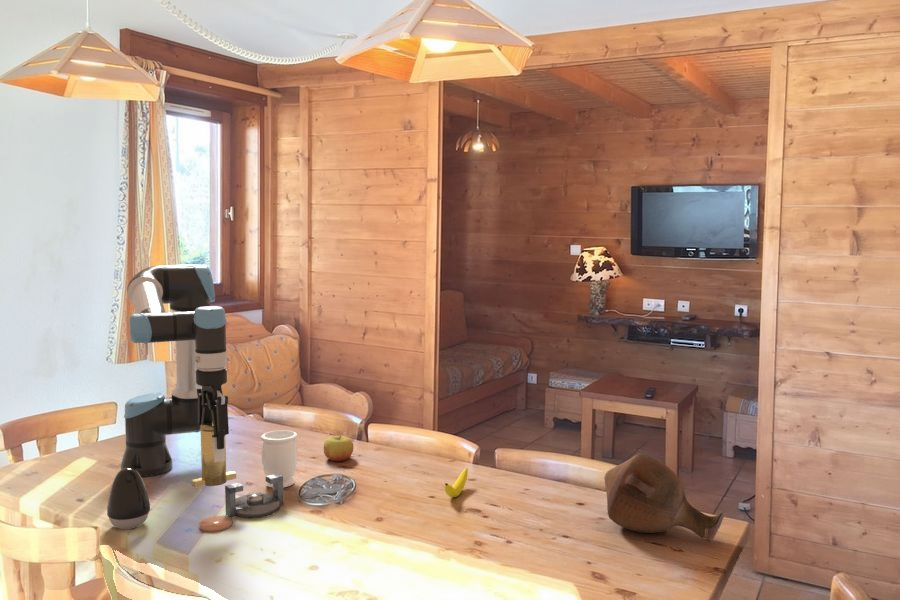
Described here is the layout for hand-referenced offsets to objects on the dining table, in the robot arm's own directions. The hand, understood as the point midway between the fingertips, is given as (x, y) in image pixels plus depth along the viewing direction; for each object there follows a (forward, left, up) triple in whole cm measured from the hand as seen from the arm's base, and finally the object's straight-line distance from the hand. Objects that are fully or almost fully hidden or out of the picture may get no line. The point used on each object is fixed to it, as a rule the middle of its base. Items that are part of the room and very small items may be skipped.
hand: (213, 457), depth 199 cm
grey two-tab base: (-4, +13, -18) cm, 23 cm away
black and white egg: (-14, -17, -18) cm, 29 cm away
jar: (-18, +28, -18) cm, 38 cm away
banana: (+22, +63, -18) cm, 69 cm away
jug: (+76, +85, -18) cm, 115 cm away
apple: (-27, +54, -18) cm, 63 cm away
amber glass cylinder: (0, 0, -6) cm, 6 cm away
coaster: (0, 0, -18) cm, 18 cm away
